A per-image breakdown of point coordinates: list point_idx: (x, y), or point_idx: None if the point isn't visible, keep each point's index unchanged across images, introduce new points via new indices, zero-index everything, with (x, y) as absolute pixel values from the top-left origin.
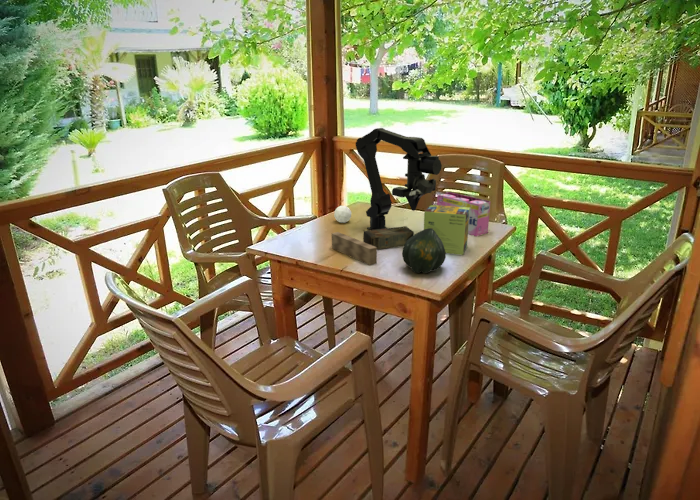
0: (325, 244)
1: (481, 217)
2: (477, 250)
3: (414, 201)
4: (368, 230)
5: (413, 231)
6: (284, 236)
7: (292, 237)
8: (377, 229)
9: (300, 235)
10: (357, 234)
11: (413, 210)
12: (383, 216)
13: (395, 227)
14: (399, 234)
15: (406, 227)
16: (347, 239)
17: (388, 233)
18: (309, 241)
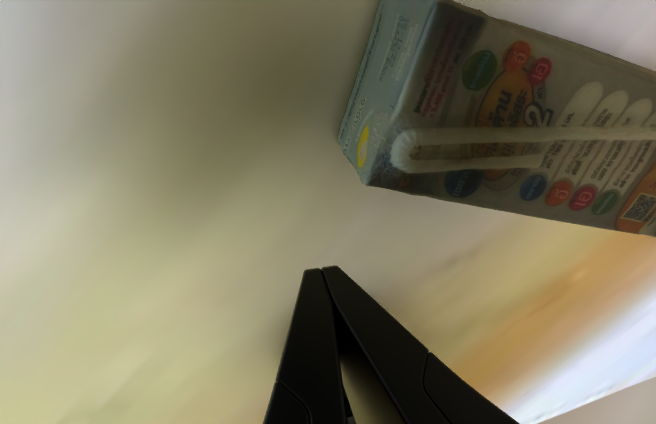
0: (642, 274)
1: None
2: None
3: (430, 395)
4: (646, 225)
5: (436, 3)
6: (620, 382)
7: (619, 369)
8: (594, 216)
9: (589, 376)
10: (460, 320)
11: (338, 270)
12: (346, 397)
13: (462, 197)
14: (570, 42)
15: (417, 132)
16: None
17: (632, 101)
18: (634, 322)
